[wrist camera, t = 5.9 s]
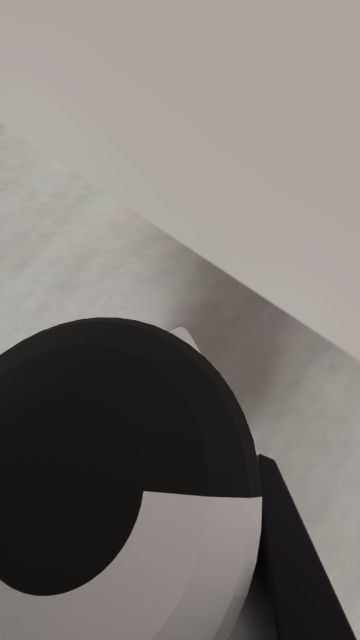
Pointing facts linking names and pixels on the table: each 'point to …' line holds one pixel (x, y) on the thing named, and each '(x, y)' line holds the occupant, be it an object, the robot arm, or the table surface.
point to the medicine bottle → (122, 487)
